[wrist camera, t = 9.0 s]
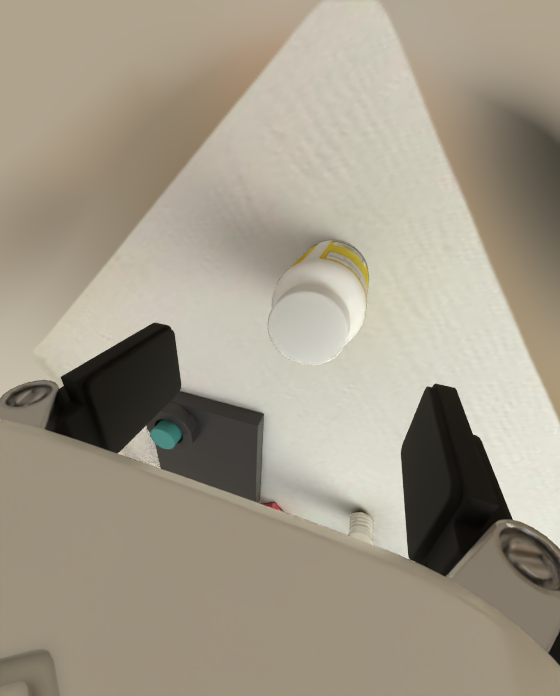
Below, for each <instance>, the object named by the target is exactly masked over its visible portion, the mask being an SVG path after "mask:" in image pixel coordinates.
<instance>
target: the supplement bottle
mask: <svg viewBox="0 0 560 696" xmlns="http://www.w3.org/2000/svg"><path fill="white" fill-rule="evenodd" d="M368 283H369V272H368V267H367V263H366V261H365V259H364V257H363V255H362V254H361V253H360V252H359V250H358V249H356V248H355V247H354V246H352V245H351V244H349V243H346V242H344V241H339V240H328V241H323V242H320V243H318V244H316V245H314V246H313V247H311V248H310V249H309V250H308V251H306V252H305V253H304V254H303V255H302V256H301V257H300V258H299V259H298V260H297V261H296V262H295V263H294V264H293V265H292V266H291V267H290V268H289V269H288V270H287V271H286V272H285V273H284V274H283V276H282V277H281V278H280V279H279V281H278V283H277V284H276V287H275V289H274V292H273V296H272V310H271V312H270V315H269V318H268V332H269V335H270V338H271V341H272V343H273V344H274V346H275V347H276V349H277V350H278V351H279V352H280V353H281V354H282V355H284V356H285V357H286V358H288V359H289V360H292V361H294V362H296V363H299V364H304V365H319V364H323V363H326V362H328V361H330V360H332V359H334V358H335V357H336V356H337V355H338V354H339V353H340V352H341V351H342V350H343V348H344V346H345V344H346V343H347V342H349V341H350V340H351V339H352V338H353V337H354V336H355V335H356V334H357V332H358V331H359V329H360V328H361V326H362V324H363V321H364V317H365V314H366V307H367V294H368Z"/></svg>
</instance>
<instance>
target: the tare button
mask: <svg viewBox="0 0 560 696" xmlns="http://www.w3.org/2000/svg"><path fill="white" fill-rule="evenodd" d="M150 436H151V438H152V440H153V441H154V442H155V443H156V444H157V445H158V446H160V447H161V448H164V449H172V448H173V447H174V446H175V445H176V444H177V442H178V441H179V440H180V438H181V437H182V432H181V431H180V429H179V428H178V427H177V426H176V425H175V424H173V423H172V422H170V421H167V420H161V421H160V422H159V423H158V424H157V425H156V426H155V427H154V428H153V429H152V430H151V433H150Z"/></svg>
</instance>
